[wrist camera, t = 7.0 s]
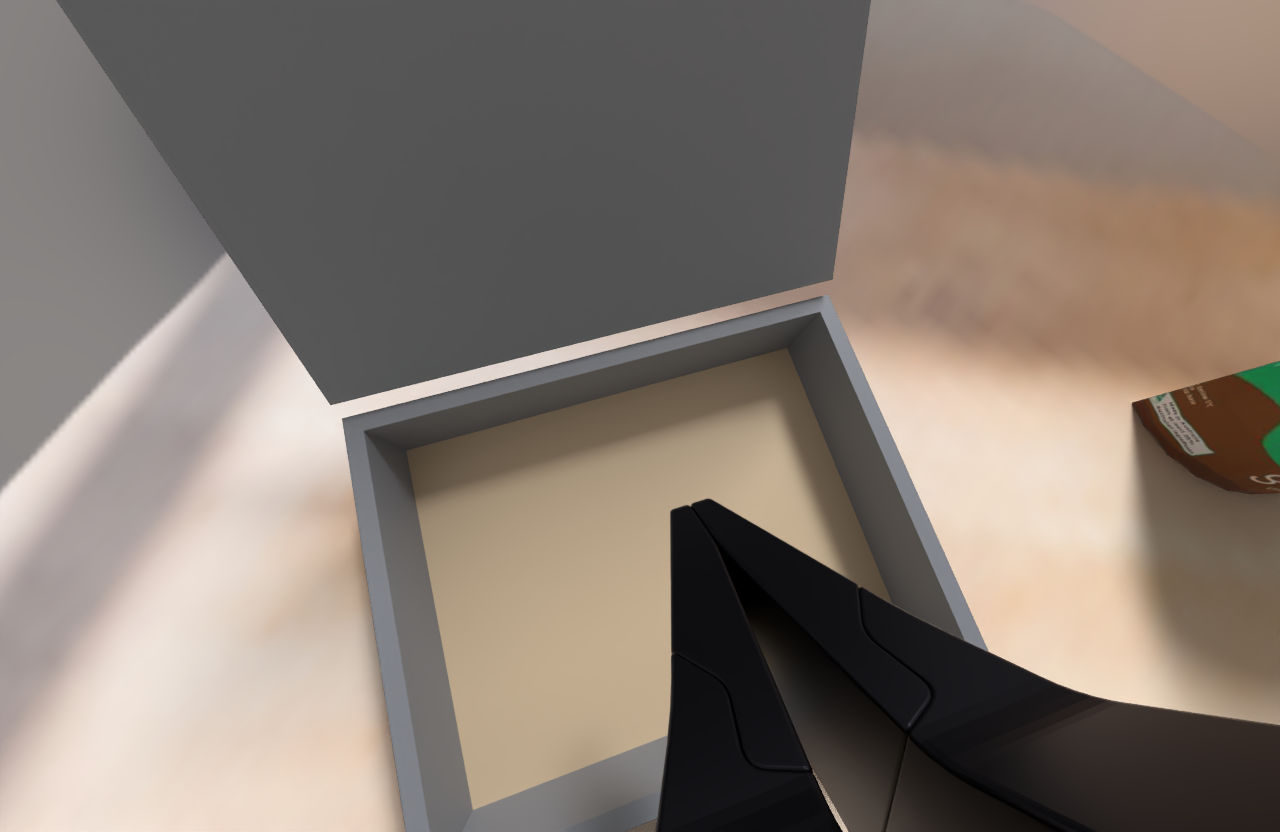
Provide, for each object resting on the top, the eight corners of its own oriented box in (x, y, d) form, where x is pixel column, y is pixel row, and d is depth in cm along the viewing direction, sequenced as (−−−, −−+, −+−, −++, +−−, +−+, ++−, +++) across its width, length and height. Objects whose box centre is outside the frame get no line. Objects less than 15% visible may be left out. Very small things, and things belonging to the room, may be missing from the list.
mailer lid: (928, -426, 9) (906, -403, 9) (-225, -415, 6) (-177, -381, 7) (832, 279, 18) (823, 273, 18) (330, 405, 15) (334, 395, 15)
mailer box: (918, 650, 19) (1000, 678, 15) (463, 826, 16) (418, 916, 12) (789, 338, 22) (828, 294, 18) (395, 443, 19) (341, 418, 15)
